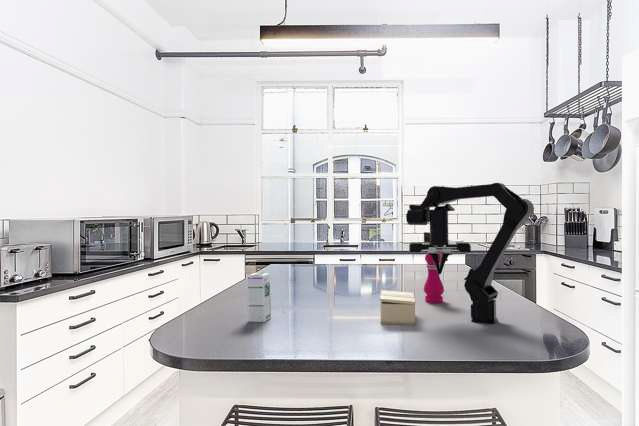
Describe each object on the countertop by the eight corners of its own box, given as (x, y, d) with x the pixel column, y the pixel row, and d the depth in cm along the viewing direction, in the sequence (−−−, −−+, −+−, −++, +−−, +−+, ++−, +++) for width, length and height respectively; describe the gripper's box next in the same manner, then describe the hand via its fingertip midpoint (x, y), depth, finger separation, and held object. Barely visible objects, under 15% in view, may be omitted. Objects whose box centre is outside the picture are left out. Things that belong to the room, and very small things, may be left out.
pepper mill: (442, 299, 173) (441, 246, 173) (445, 303, 166) (444, 247, 165) (422, 299, 173) (421, 246, 173) (425, 303, 166) (424, 247, 166)
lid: (412, 295, 150) (413, 292, 150) (415, 304, 135) (415, 301, 135) (381, 292, 151) (381, 289, 151) (379, 301, 137) (380, 298, 137)
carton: (413, 314, 150) (412, 295, 149) (415, 324, 136) (414, 304, 136) (381, 313, 151) (381, 295, 151) (380, 324, 137) (380, 303, 137)
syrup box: (265, 322, 142) (264, 275, 142) (247, 321, 143) (246, 274, 143) (271, 318, 147) (270, 272, 147) (253, 317, 148) (252, 272, 148)
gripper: (465, 224, 155) (465, 271, 155) (408, 224, 157) (408, 270, 157) (470, 225, 144) (471, 275, 144) (409, 226, 146) (410, 275, 146)
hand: (439, 274), depth 148 cm, fingers closed
